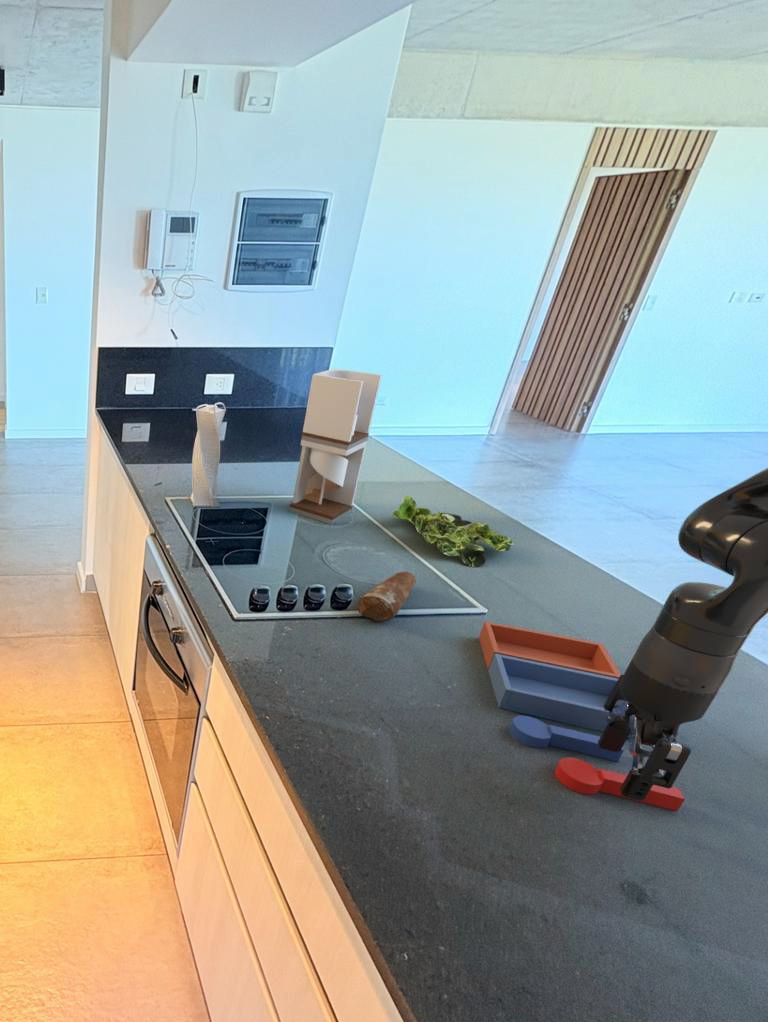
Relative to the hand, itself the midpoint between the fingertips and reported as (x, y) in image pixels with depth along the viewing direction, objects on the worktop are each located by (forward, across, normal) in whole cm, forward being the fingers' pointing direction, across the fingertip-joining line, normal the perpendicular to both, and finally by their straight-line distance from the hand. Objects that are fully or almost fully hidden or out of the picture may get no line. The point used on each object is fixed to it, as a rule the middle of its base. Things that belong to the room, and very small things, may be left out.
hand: (618, 771), depth 78 cm
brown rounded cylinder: (+4, +38, +25) cm, 46 cm away
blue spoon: (+3, +7, +3) cm, 8 cm away
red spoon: (+3, 0, -1) cm, 3 cm away
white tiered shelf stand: (+4, +80, +39) cm, 89 cm away
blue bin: (+3, +17, +2) cm, 17 cm away
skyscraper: (+4, +74, +68) cm, 100 cm away
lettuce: (+3, +74, +11) cm, 75 cm away
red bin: (+3, +27, +2) cm, 27 cm away
